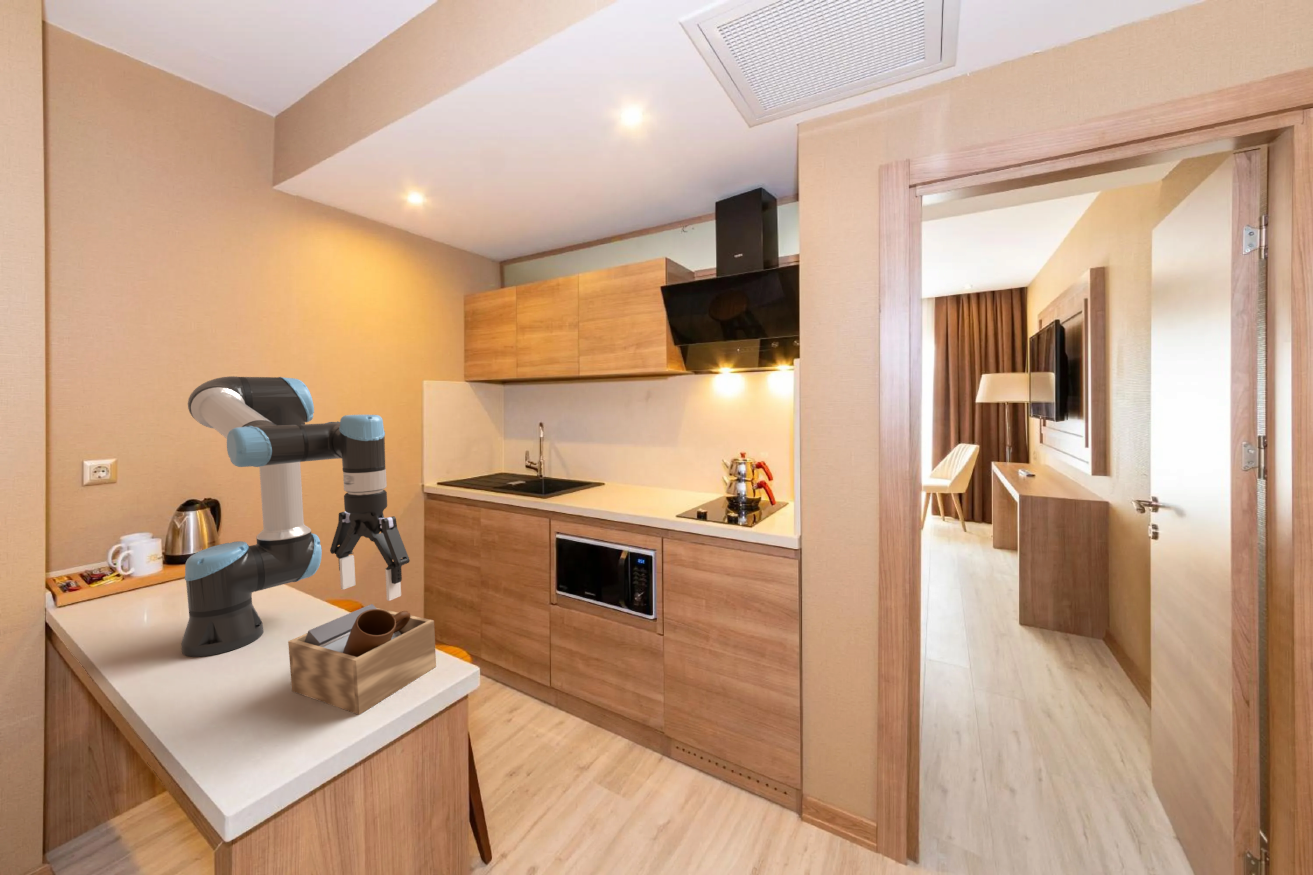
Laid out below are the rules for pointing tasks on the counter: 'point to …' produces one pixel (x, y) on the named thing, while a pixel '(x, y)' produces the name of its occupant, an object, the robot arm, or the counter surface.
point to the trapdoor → (337, 631)
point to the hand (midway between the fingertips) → (370, 592)
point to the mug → (373, 630)
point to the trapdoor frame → (363, 668)
